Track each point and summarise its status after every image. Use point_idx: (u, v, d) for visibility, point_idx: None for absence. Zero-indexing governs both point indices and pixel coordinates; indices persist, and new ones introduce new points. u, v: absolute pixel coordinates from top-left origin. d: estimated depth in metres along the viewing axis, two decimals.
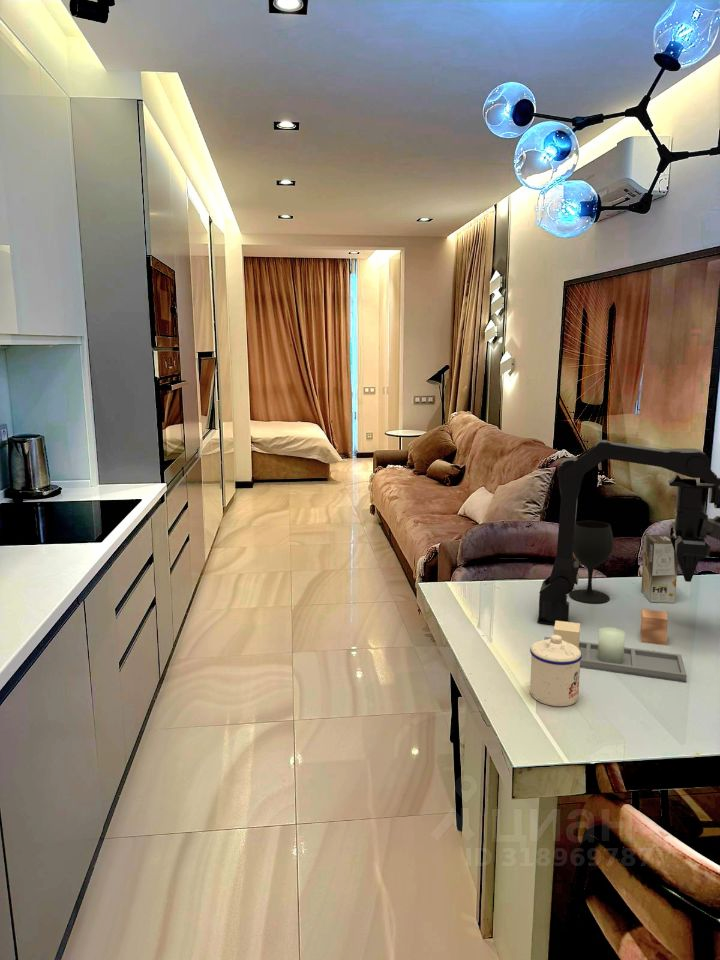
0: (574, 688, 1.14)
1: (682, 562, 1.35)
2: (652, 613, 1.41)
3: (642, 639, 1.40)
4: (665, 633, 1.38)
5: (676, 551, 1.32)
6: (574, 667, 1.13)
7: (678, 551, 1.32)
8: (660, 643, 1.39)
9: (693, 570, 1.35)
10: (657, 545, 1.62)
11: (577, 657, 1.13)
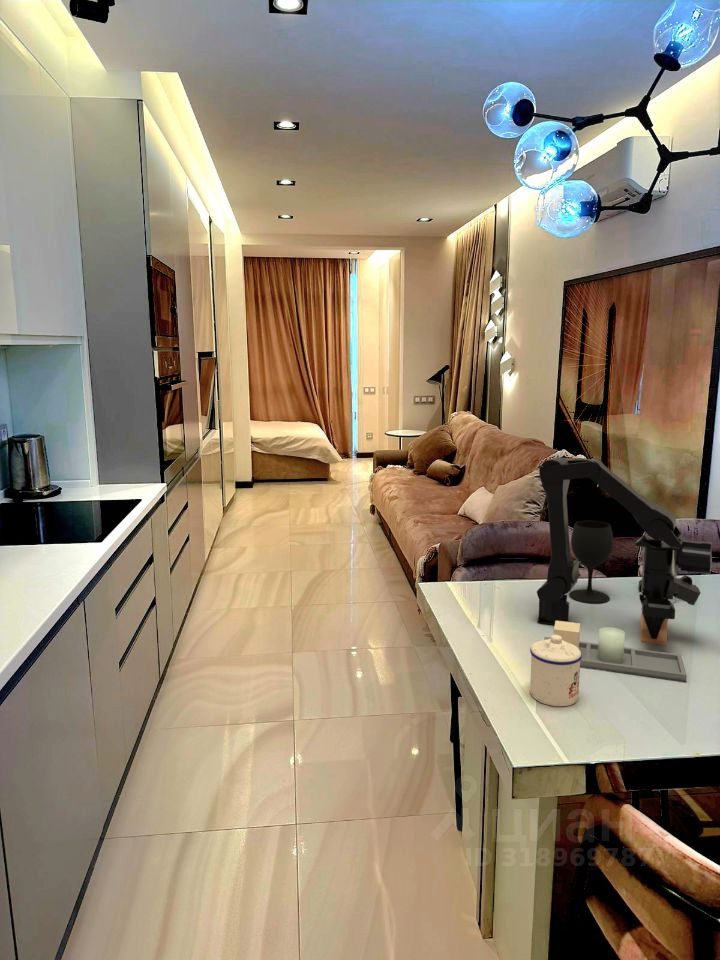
0: (574, 688, 1.14)
1: (648, 620, 1.37)
2: None
3: (642, 639, 1.40)
4: (665, 633, 1.38)
5: (642, 614, 1.33)
6: (574, 667, 1.13)
7: (644, 614, 1.33)
8: (660, 643, 1.39)
9: (659, 628, 1.37)
10: None
11: (577, 657, 1.13)
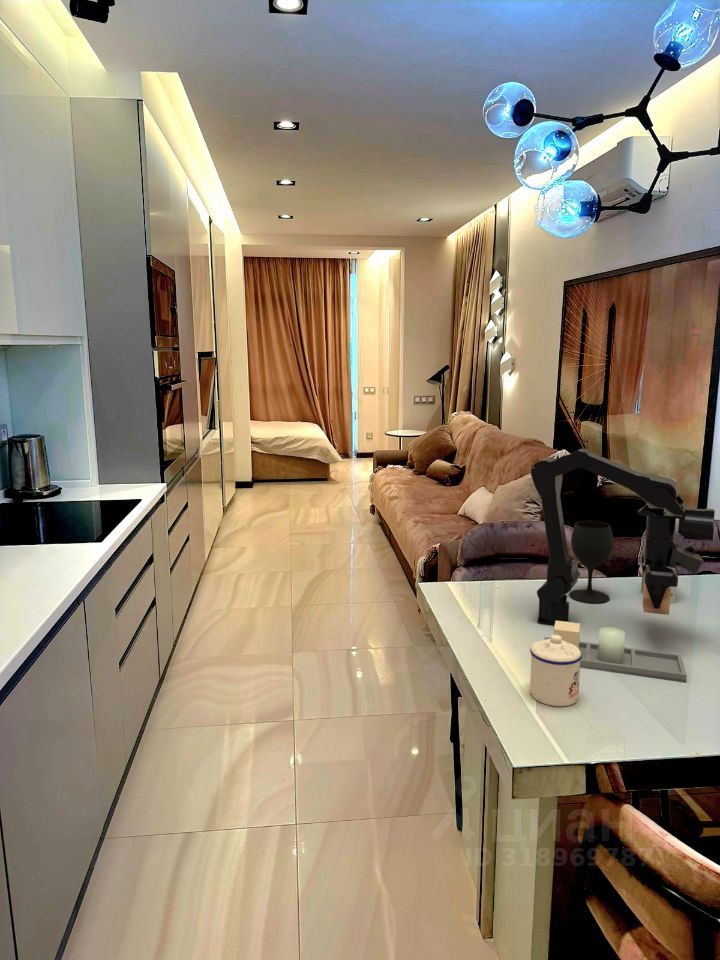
0: (574, 688, 1.14)
1: (650, 589, 1.36)
2: None
3: (645, 609, 1.39)
4: (668, 602, 1.37)
5: None
6: (574, 667, 1.13)
7: (646, 582, 1.31)
8: (663, 612, 1.37)
9: (661, 597, 1.36)
10: None
11: (577, 657, 1.13)
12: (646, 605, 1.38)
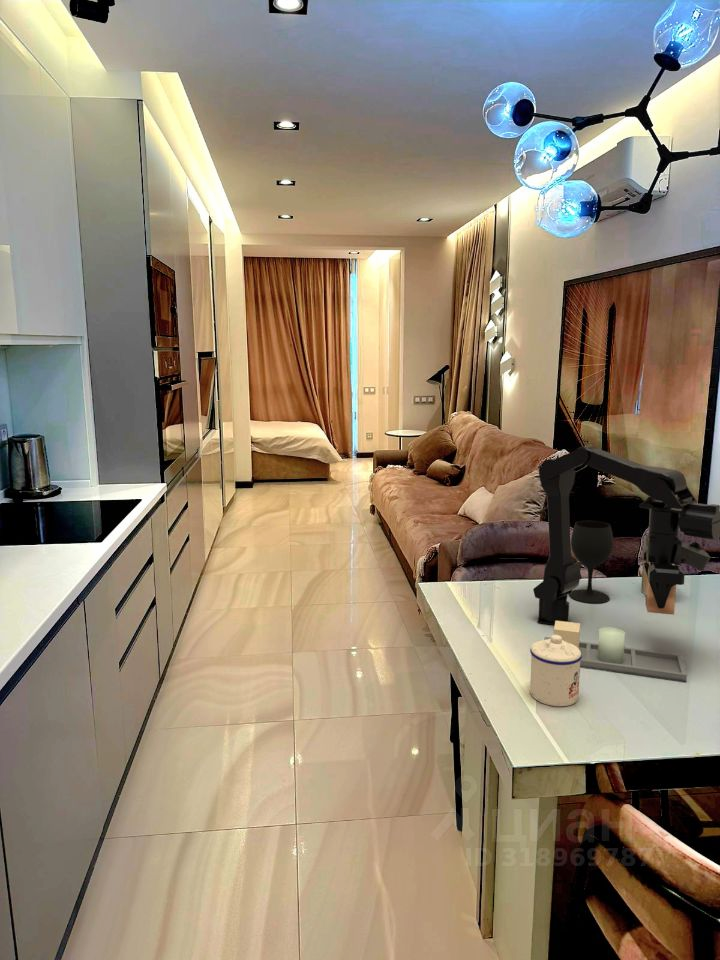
0: (574, 688, 1.14)
1: (654, 588, 1.28)
2: None
3: (648, 608, 1.31)
4: (673, 601, 1.29)
5: (649, 580, 1.24)
6: (574, 667, 1.13)
7: (651, 580, 1.24)
8: (668, 612, 1.30)
9: (666, 596, 1.28)
10: None
11: (577, 657, 1.13)
12: (650, 605, 1.31)
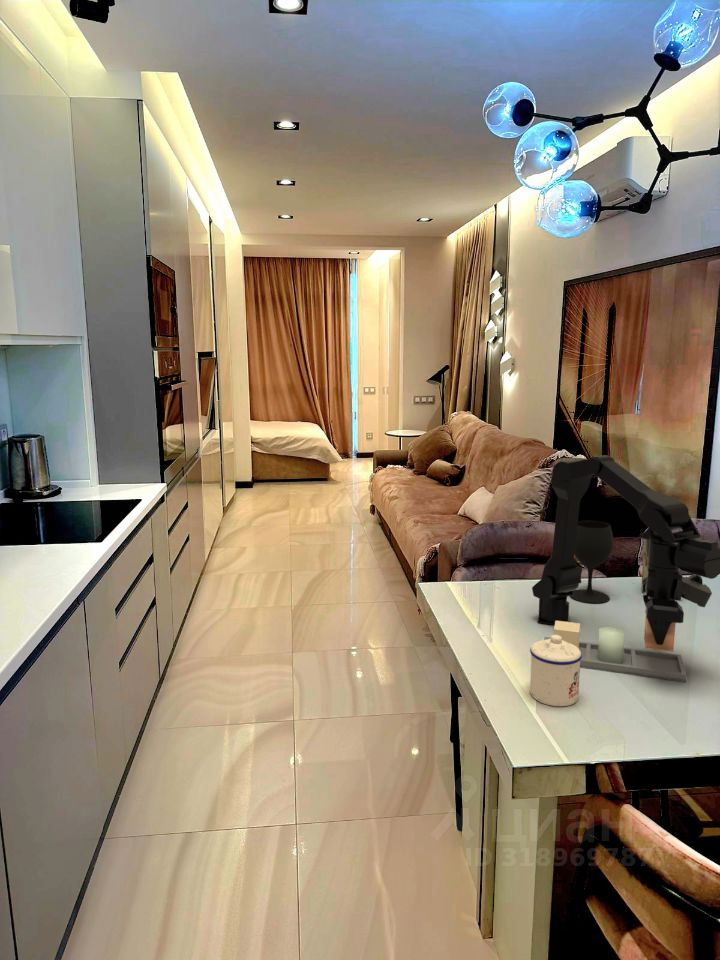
0: (574, 688, 1.14)
1: (653, 624, 1.23)
2: None
3: (646, 644, 1.25)
4: (672, 638, 1.23)
5: None
6: (574, 667, 1.13)
7: (648, 617, 1.18)
8: (667, 649, 1.24)
9: (665, 632, 1.23)
10: None
11: (577, 657, 1.13)
12: (648, 640, 1.25)
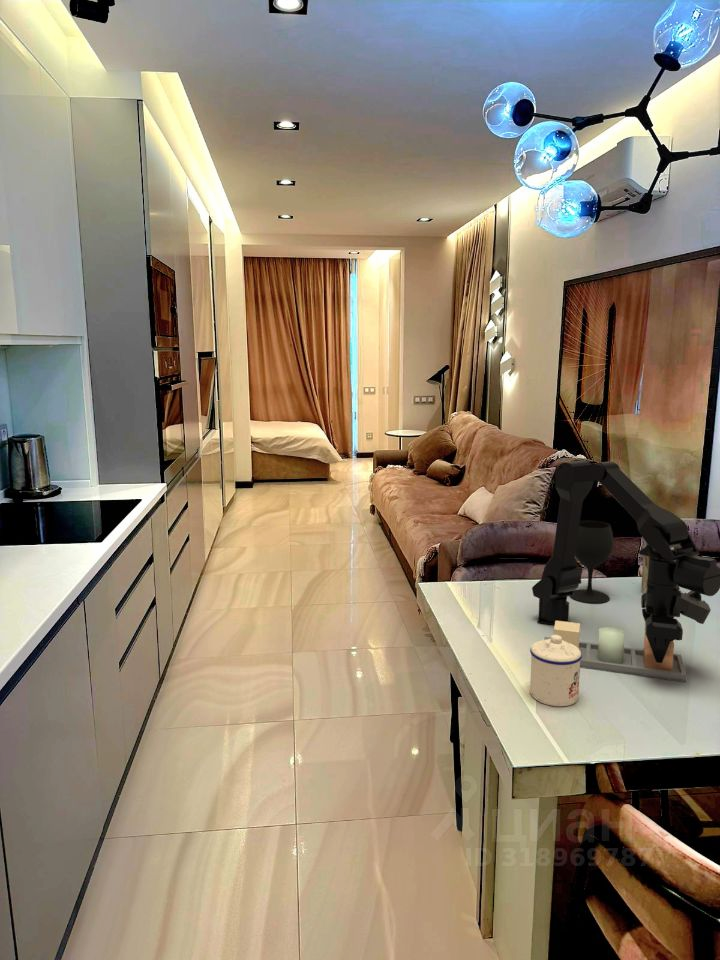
0: (574, 688, 1.14)
1: (652, 642, 1.22)
2: None
3: (645, 665, 1.26)
4: (671, 659, 1.24)
5: None
6: (574, 667, 1.13)
7: (647, 634, 1.19)
8: None
9: (664, 651, 1.22)
10: None
11: (577, 657, 1.13)
12: (647, 661, 1.26)
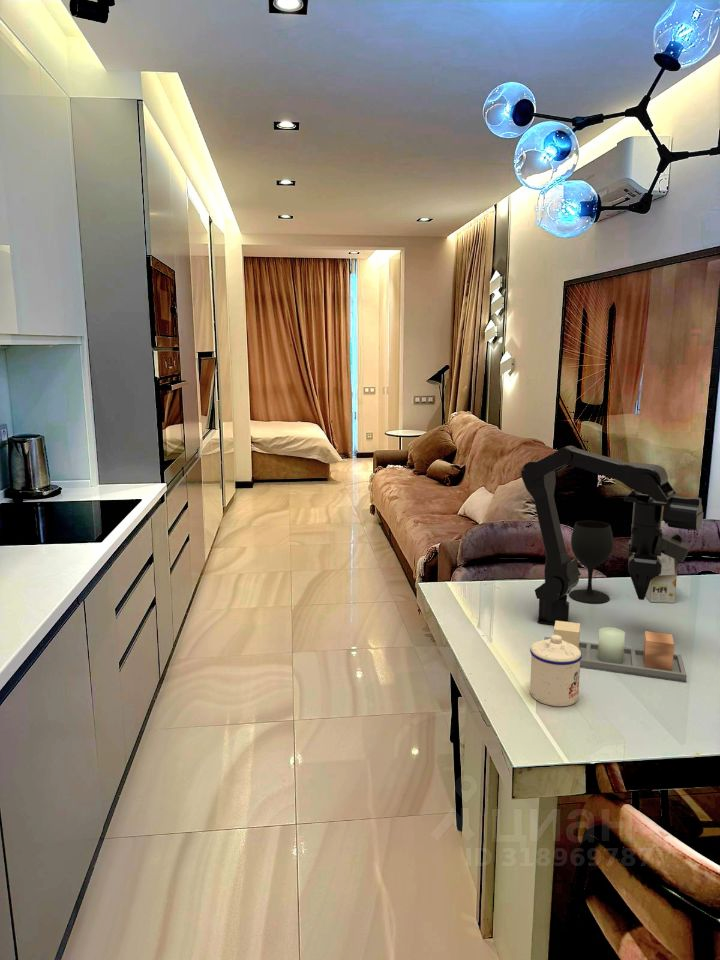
0: (574, 688, 1.14)
1: (635, 580, 1.33)
2: (656, 637, 1.27)
3: (645, 665, 1.26)
4: (671, 659, 1.24)
5: (628, 569, 1.31)
6: (574, 667, 1.13)
7: (629, 569, 1.30)
8: None
9: (646, 588, 1.33)
10: None
11: (577, 657, 1.13)
12: (647, 661, 1.26)
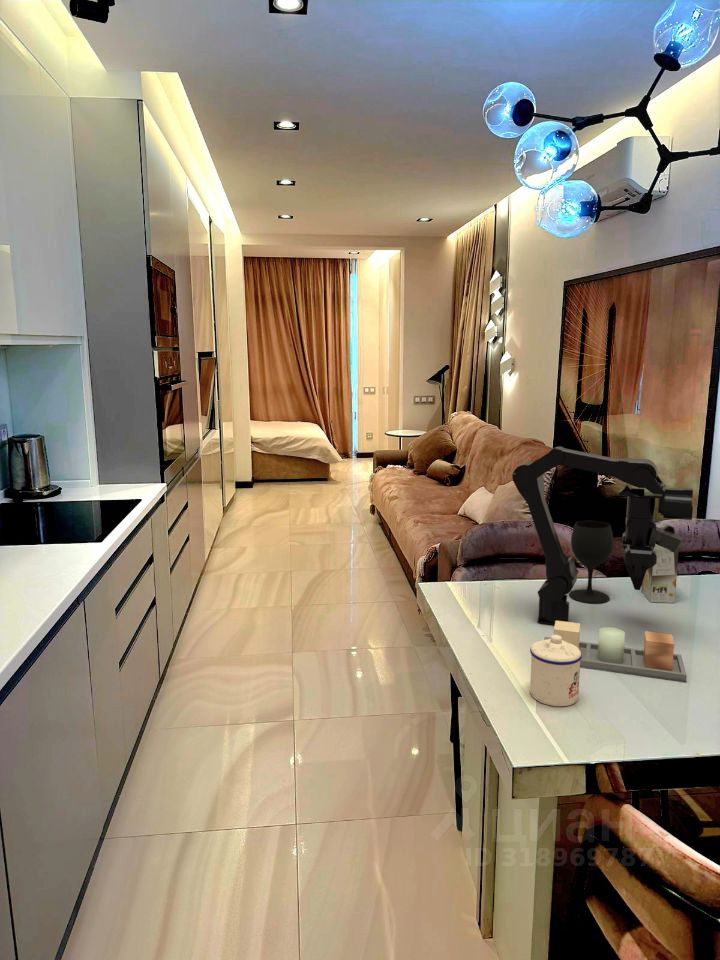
0: (574, 688, 1.14)
1: (631, 571, 1.37)
2: (656, 637, 1.27)
3: (645, 665, 1.26)
4: (671, 659, 1.24)
5: (624, 560, 1.35)
6: (574, 667, 1.13)
7: (626, 560, 1.34)
8: None
9: (642, 578, 1.37)
10: (656, 545, 1.62)
11: (577, 657, 1.13)
12: (647, 661, 1.26)
